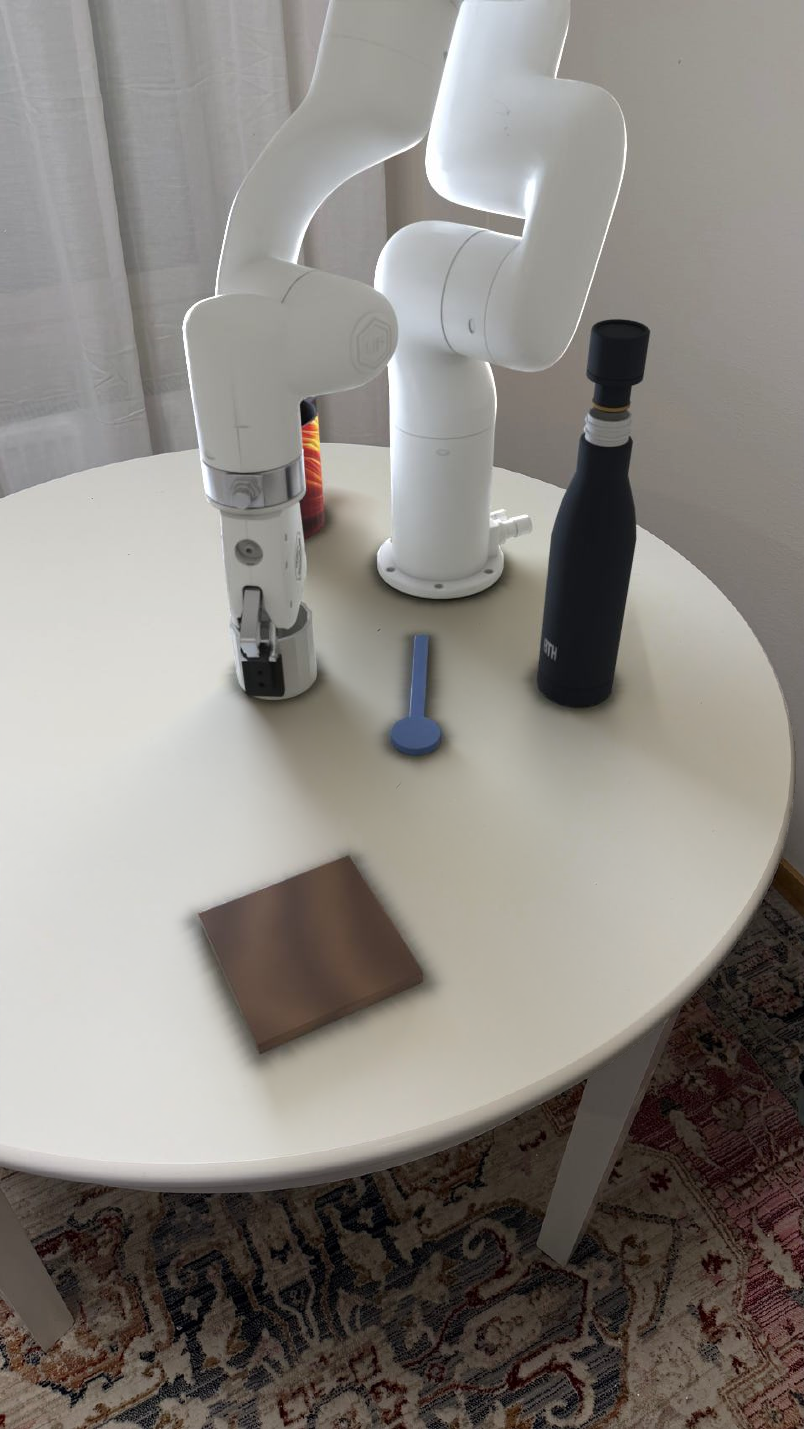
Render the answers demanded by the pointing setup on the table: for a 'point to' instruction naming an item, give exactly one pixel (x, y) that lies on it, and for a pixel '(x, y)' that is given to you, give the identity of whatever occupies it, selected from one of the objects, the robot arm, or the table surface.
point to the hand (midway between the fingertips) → (274, 660)
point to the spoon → (417, 710)
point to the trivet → (308, 952)
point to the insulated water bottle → (594, 530)
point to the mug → (311, 470)
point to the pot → (287, 652)
